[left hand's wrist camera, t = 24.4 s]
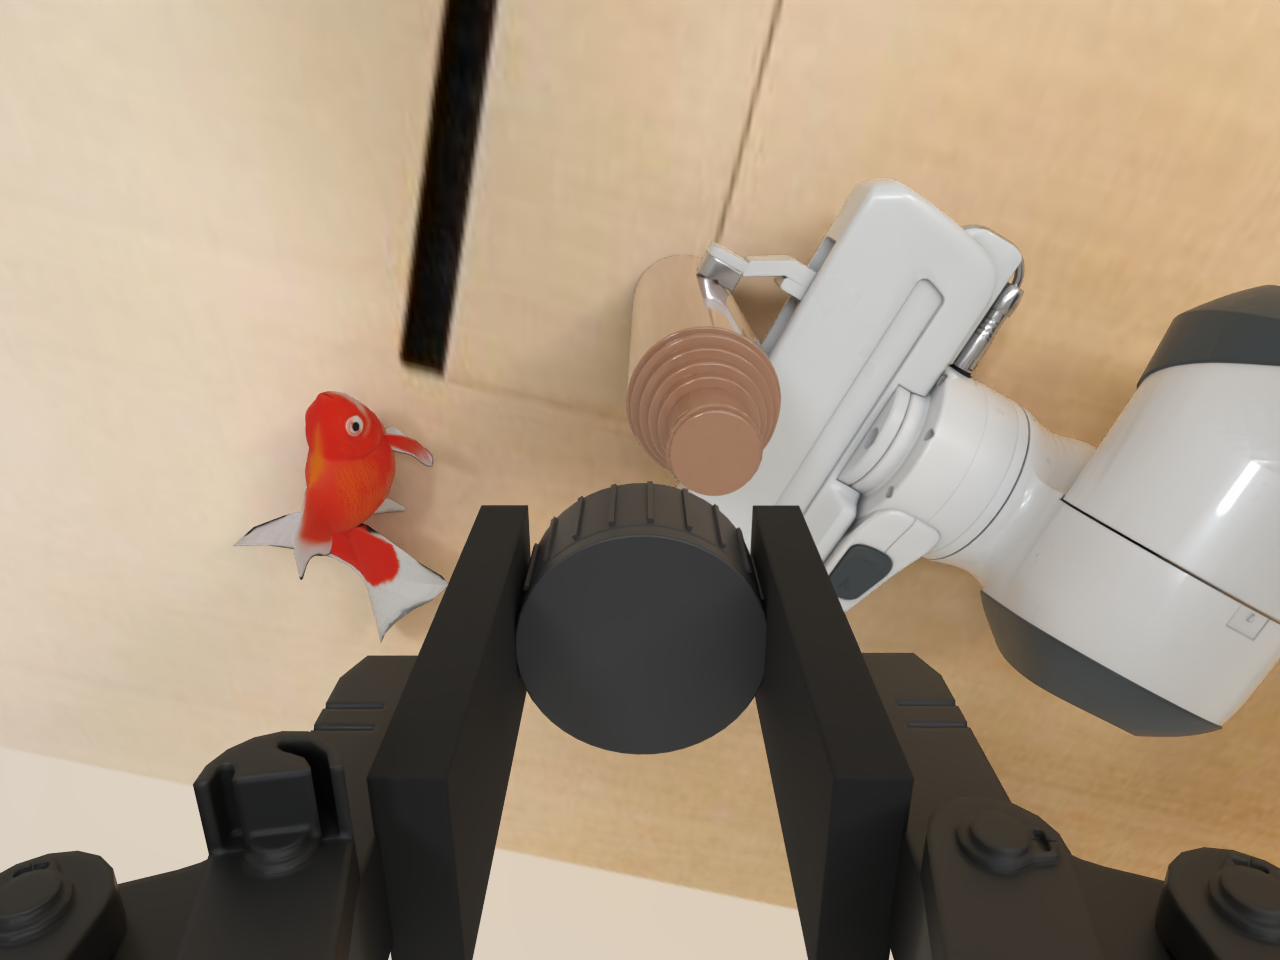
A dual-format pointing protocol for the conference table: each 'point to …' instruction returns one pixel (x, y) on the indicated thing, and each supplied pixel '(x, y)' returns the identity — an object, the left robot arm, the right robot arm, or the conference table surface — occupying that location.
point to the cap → (641, 620)
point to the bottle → (698, 379)
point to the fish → (353, 506)
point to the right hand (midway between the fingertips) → (669, 320)
